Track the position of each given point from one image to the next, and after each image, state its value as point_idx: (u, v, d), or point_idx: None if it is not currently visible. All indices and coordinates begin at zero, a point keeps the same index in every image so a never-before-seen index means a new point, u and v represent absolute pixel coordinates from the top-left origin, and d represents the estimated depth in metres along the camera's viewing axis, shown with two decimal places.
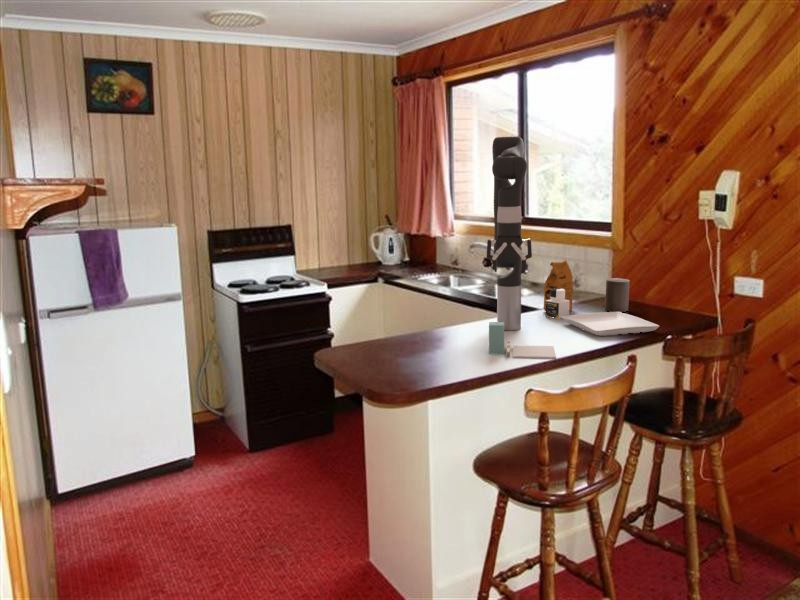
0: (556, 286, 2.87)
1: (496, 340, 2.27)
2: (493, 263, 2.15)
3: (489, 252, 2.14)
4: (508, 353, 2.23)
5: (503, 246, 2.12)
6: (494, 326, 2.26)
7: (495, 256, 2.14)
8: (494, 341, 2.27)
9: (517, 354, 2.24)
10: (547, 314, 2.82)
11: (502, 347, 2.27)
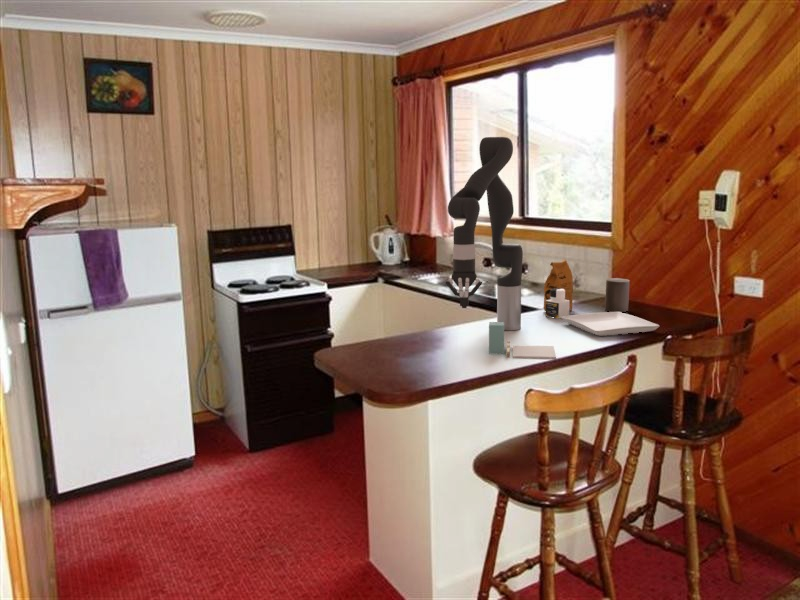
0: (556, 286, 2.87)
1: (496, 340, 2.27)
2: (461, 300, 2.28)
3: (454, 290, 2.27)
4: (508, 353, 2.23)
5: (460, 281, 2.26)
6: (494, 326, 2.26)
7: (461, 293, 2.27)
8: (494, 341, 2.27)
9: (517, 354, 2.24)
10: (547, 314, 2.82)
11: (502, 347, 2.27)
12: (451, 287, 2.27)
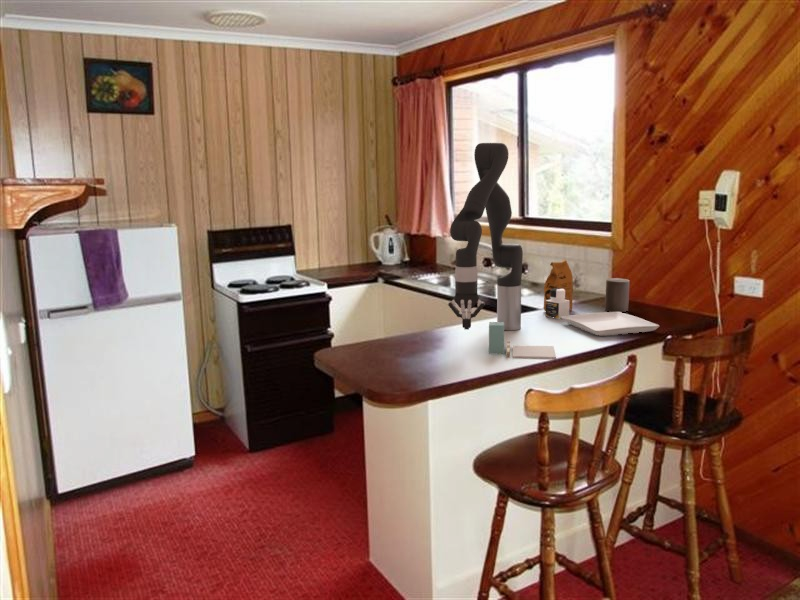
0: (556, 286, 2.87)
1: (496, 340, 2.27)
2: (463, 321, 2.30)
3: (456, 312, 2.29)
4: (508, 353, 2.23)
5: (462, 303, 2.27)
6: (494, 326, 2.26)
7: (463, 315, 2.29)
8: (494, 341, 2.27)
9: (517, 354, 2.24)
10: (547, 314, 2.82)
11: (502, 347, 2.27)
12: (453, 309, 2.29)
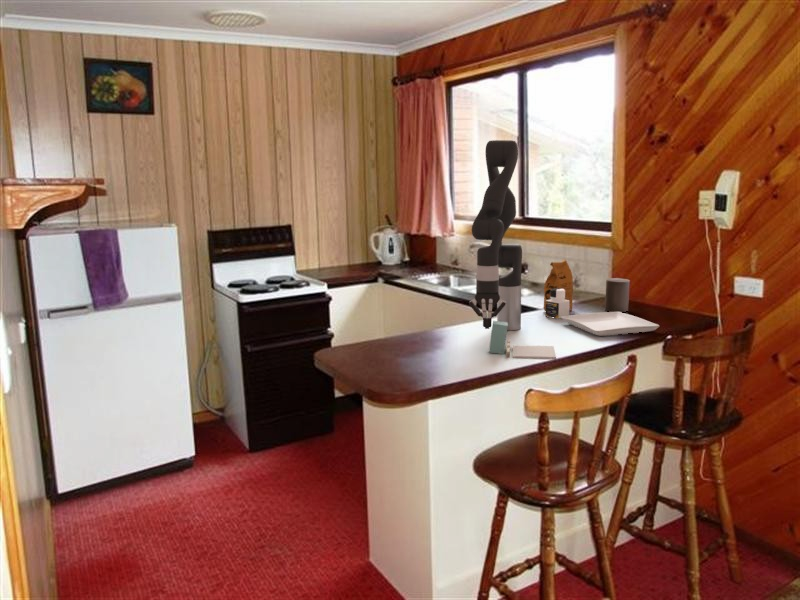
0: (556, 286, 2.87)
1: (498, 339, 2.27)
2: (484, 320, 2.28)
3: (477, 311, 2.28)
4: (508, 353, 2.23)
5: (483, 302, 2.26)
6: (498, 325, 2.26)
7: (484, 314, 2.27)
8: (496, 340, 2.27)
9: (517, 354, 2.24)
10: (547, 314, 2.82)
11: (503, 347, 2.27)
12: (474, 308, 2.28)
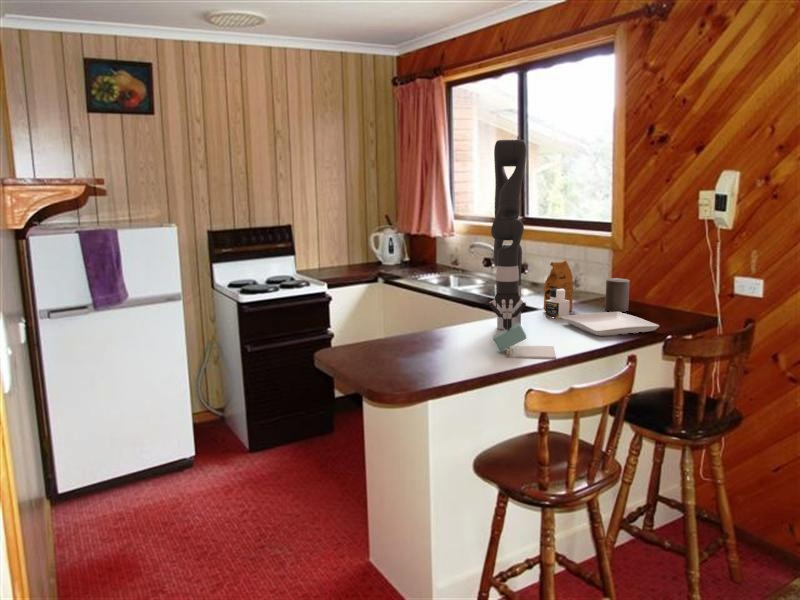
0: (556, 286, 2.87)
1: (509, 339, 2.26)
2: (504, 321, 2.27)
3: (497, 311, 2.27)
4: (508, 353, 2.23)
5: (503, 303, 2.25)
6: (520, 331, 2.25)
7: (504, 315, 2.26)
8: (507, 338, 2.26)
9: (517, 354, 2.24)
10: (547, 314, 2.82)
11: (505, 347, 2.27)
12: (494, 309, 2.26)
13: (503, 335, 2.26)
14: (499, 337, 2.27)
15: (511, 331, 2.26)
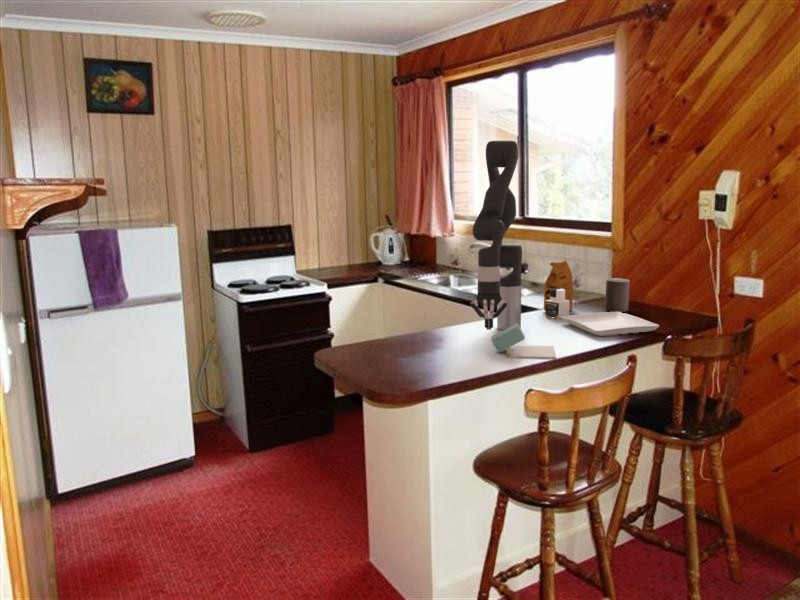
0: (556, 286, 2.87)
1: (507, 340, 2.26)
2: (485, 321, 2.28)
3: (479, 312, 2.27)
4: (508, 353, 2.23)
5: (485, 303, 2.26)
6: (519, 331, 2.25)
7: (486, 315, 2.27)
8: (505, 338, 2.26)
9: (517, 354, 2.24)
10: (547, 314, 2.82)
11: (503, 348, 2.27)
12: (476, 309, 2.27)
13: (501, 336, 2.26)
14: (497, 338, 2.27)
15: (509, 332, 2.26)
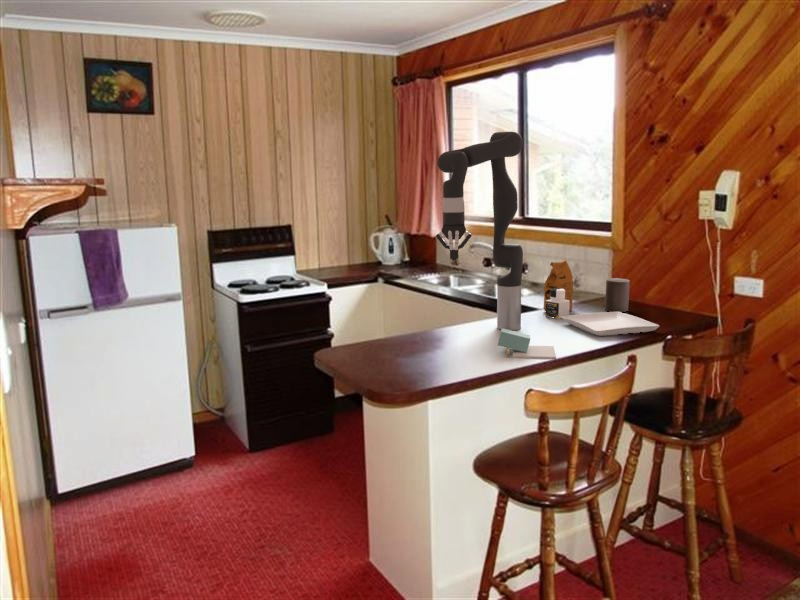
0: (556, 286, 2.87)
1: (513, 342, 2.26)
2: (451, 253, 2.34)
3: (444, 243, 2.33)
4: (508, 353, 2.23)
5: (450, 234, 2.32)
6: (527, 343, 2.26)
7: (451, 246, 2.33)
8: (512, 340, 2.26)
9: (517, 354, 2.24)
10: (547, 314, 2.82)
11: (504, 345, 2.27)
12: (441, 240, 2.33)
13: (511, 335, 2.26)
14: (507, 334, 2.26)
15: (520, 337, 2.26)
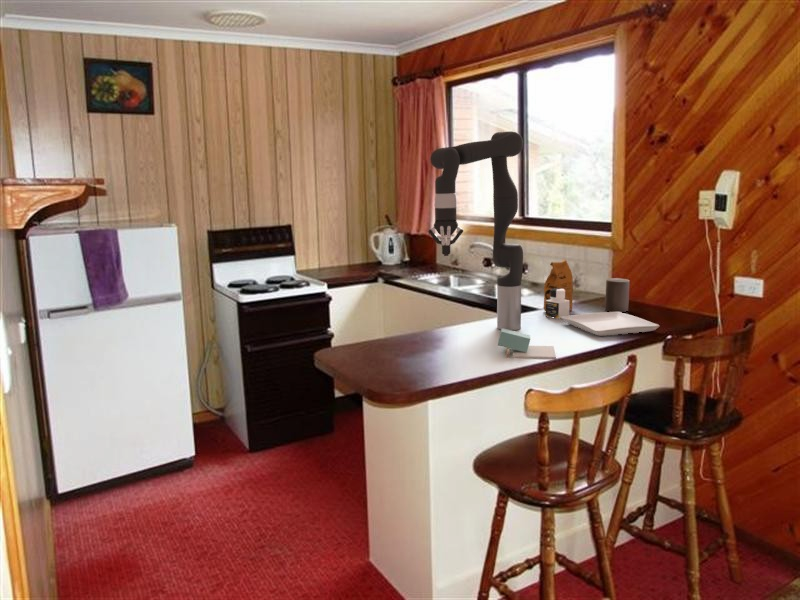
0: (556, 286, 2.87)
1: (513, 342, 2.26)
2: (443, 248, 2.37)
3: (436, 238, 2.36)
4: (508, 353, 2.23)
5: (442, 230, 2.35)
6: (527, 343, 2.26)
7: (443, 241, 2.36)
8: (512, 340, 2.26)
9: (517, 354, 2.24)
10: (547, 314, 2.82)
11: (504, 345, 2.27)
12: (433, 235, 2.36)
13: (511, 335, 2.26)
14: (507, 334, 2.26)
15: (520, 337, 2.26)
